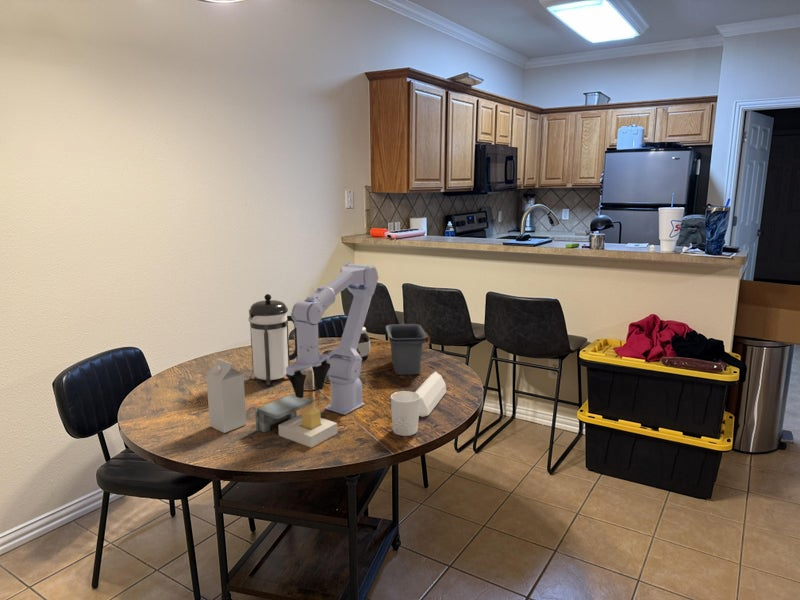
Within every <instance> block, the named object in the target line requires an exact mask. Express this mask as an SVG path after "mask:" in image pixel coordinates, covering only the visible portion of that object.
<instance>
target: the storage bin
mask: <svg viewBox="0 0 800 600" xmlns="http://www.w3.org/2000/svg"><path fill="white" fill-rule="evenodd" d="M385 330H386V334H387V337H388V339H389V343H390V354H391V362H392V363H391V364H392V365H393V368H394V372H395V374H396V375H400V376H402V375H403V376H405V375H406V376H407V375H408V376H409V375H410V376H411V375H419V374H420V373H421V362H422V353H423V352H422V351H423V344H425V343H427V344H428V345H429V346H430V344H431V338H430V336H429V334H428V332H425V330H424V328H423V327H422V325H421V324H418V323H417V324H415V323H401V324H400V323H398V324H396V323H395V324H394V323H393V324H388V325H386V326H385Z"/></svg>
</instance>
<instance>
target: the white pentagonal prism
mask: <svg viewBox="0 0 800 600" xmlns="http://www.w3.org/2000/svg"><path fill="white" fill-rule="evenodd" d="M414 392H415V393H417V394H419V396H420V405H419V417H423V418H424V417H427V416H429V415H430V414H431V413H432V411H433V410H434V409H435V408H436V406H437V405H438V403H439V402H440V401H441V399H442V398H443V397H444V395H445V394H446V393H447V384H446V382H445V380H444V378H443V377H442V375H441V374H440V373H438V371H434V372H433V373H431V374H430V375H429V376H428V377H427V379H426V380H425V381H424V382H423V383H421V385H420V386H419V387H418V388H417V389H416V390H415V391H414Z"/></svg>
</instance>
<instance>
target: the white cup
mask: <svg viewBox="0 0 800 600" xmlns="http://www.w3.org/2000/svg"><path fill="white" fill-rule="evenodd" d="M415 392H416V391H408V390H402V391H396V392H393V393H391V395H390V410H391V423H392V432H393V433H394V434H396V435H398V436H402V437H403V436H404V437H409V436H413V435H415V434H417V432H418V429H419V428H418V427H419V417H420V416H419V405H420V396H419V394H417V393H415Z"/></svg>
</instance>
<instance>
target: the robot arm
mask: <svg viewBox="0 0 800 600" xmlns="http://www.w3.org/2000/svg"><path fill="white" fill-rule="evenodd" d="M378 281H379V274H378V270H377V267H376V266H375V265H373V264H372V265H371V264H368V265H367V264H358V263H355V264H354V263H351V262H347V263H345V264H344V265H343V266H342V267H340V271H339V273H338V275H337V276H336V277H335V278H334V279H333V280H331V282H330V283H329V284H328V285H319V286H318V287H317V288H316V290H315V291H314V292H312V293H311V294H310V295H308V296H307V297H306V299H304V300H299V301H297V302H296V303H294V305H293V306H292V309H291V312H290V316H291V317H292V319H293V320H294V323H293V325H294V324H295V328H297V353H298V356H297V360H296V361H295V362H293V363H292V364H290V366H288V367H286V376H287V378H288V380H289V382H290V383H291V384H290V385H292V388H293V391H294V395H296V397H298V398H303V397H304V395H305V393H304V392H305V389H304V388H305V387H304V386H305V381H306V377H307V375H306V374H303V373H302V371H305V370H307V369H310V368H312V372H313V378H314V386H315V389H317V390H320V391H321V390H323V389H324V384H325V381H326V377H328V380H329V381H330V399H331V400H330V404H329V405H326V406H325V410H328V411H331V412H334V413H338V414H340V415H347V414H349V413H352V412H353V411H355V410H357V409H359V408H361V407H363V406H365V402H363V383H362V380H361V379H360V376H361V371H362V361H363V359H362V358H361V356H360V355H359V354H358V352H357V351H356V350H357V346H358V343H359V339H360V336H361V333H362V329H363V327H365V326H364V324H365V323H366V317H367V315H368V310H369V307H370V305H371V300H372V298H373V295H374V294H375V291H376V289H377V285H378ZM345 289H347V290H348V292H350V294H352V296H353V298H352V301H351V305H350V309H349V311H348V314H347V315H348V316H347V319H346V321H345V325H344V328H343V332H342V335H341V338H340V339H341V340H340V342H339V345H338V346H337V347H334V348H333V349H332V350H331V351H330V353H329V354H327V353H323V354H320V351H319V350H320V349H319V348H320V345H319V343H320V341H319V323H320V322H321V321H322V318H323V315H324V314H325V311H326V310H328V309H329V307H331V306H332V305H333V304H334V303H335V302H336V296H337V295H339V294H340V293H341V292H342V291H344V290H345ZM295 328H294V329H295ZM345 358H348V359H345ZM349 359H351V360H349ZM286 376H285V377H286Z"/></svg>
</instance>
